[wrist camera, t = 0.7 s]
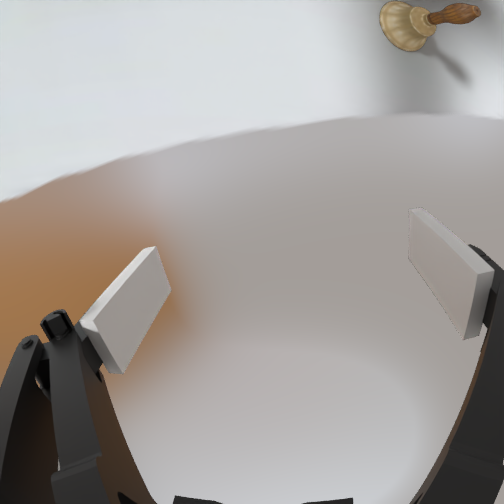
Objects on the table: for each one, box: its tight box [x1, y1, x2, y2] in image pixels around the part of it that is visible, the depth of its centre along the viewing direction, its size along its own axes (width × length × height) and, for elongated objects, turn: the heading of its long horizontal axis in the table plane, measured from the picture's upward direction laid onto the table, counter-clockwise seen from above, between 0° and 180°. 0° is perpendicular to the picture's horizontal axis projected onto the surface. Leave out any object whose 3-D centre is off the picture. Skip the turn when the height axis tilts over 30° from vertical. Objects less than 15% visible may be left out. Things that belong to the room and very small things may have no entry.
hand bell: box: [380, 1, 481, 51], centre depth 23 cm, size 8×8×16 cm
